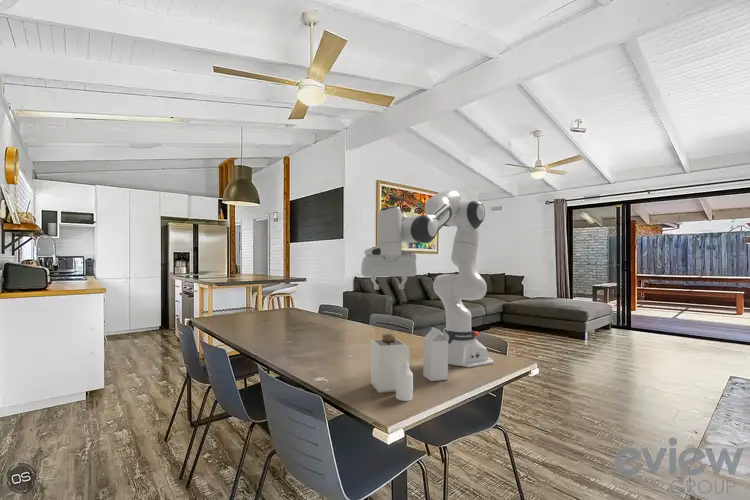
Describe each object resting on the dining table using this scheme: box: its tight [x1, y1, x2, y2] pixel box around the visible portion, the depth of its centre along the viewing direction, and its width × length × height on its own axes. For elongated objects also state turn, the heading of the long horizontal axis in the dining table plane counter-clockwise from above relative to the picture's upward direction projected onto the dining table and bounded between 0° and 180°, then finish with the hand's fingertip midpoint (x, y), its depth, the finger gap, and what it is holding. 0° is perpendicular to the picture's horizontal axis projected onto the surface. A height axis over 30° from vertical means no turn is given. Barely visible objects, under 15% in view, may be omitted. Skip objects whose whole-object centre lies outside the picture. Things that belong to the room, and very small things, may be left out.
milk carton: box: [422, 327, 449, 382], centre depth 145 cm, size 7×7×19 cm
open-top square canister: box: [370, 338, 410, 394], centre depth 135 cm, size 13×10×16 cm
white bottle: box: [395, 362, 414, 402], centre depth 125 cm, size 6×12×6 cm
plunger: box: [381, 333, 396, 345], centre depth 135 cm, size 8×8×16 cm
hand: (389, 289), depth 135 cm, fingers open, 8 cm apart
